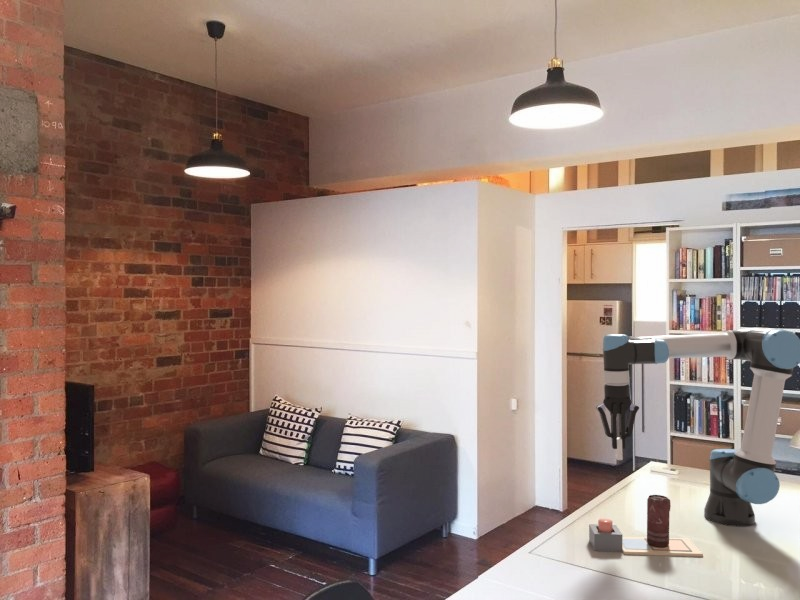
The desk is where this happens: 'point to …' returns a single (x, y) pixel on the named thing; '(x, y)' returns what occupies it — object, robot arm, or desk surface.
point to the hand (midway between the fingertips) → (619, 458)
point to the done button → (604, 525)
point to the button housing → (605, 539)
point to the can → (658, 521)
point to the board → (673, 549)
